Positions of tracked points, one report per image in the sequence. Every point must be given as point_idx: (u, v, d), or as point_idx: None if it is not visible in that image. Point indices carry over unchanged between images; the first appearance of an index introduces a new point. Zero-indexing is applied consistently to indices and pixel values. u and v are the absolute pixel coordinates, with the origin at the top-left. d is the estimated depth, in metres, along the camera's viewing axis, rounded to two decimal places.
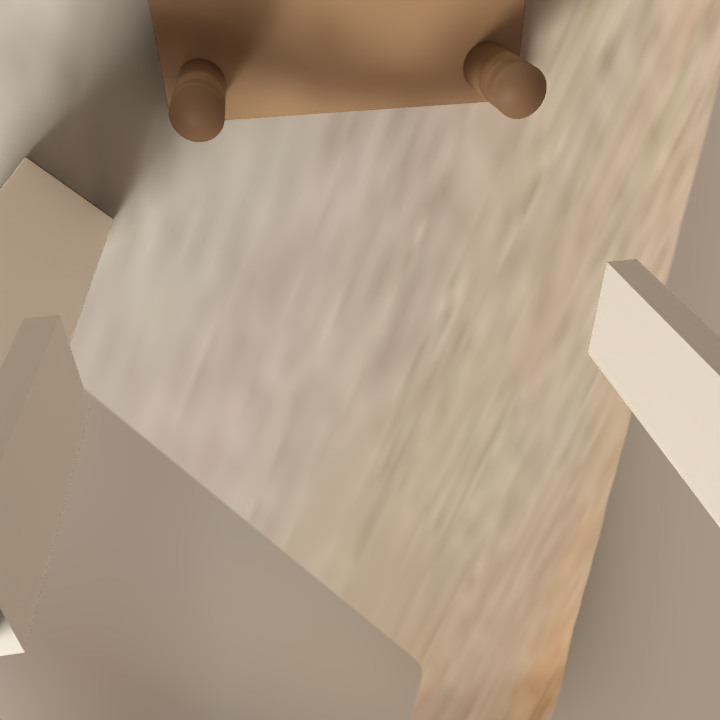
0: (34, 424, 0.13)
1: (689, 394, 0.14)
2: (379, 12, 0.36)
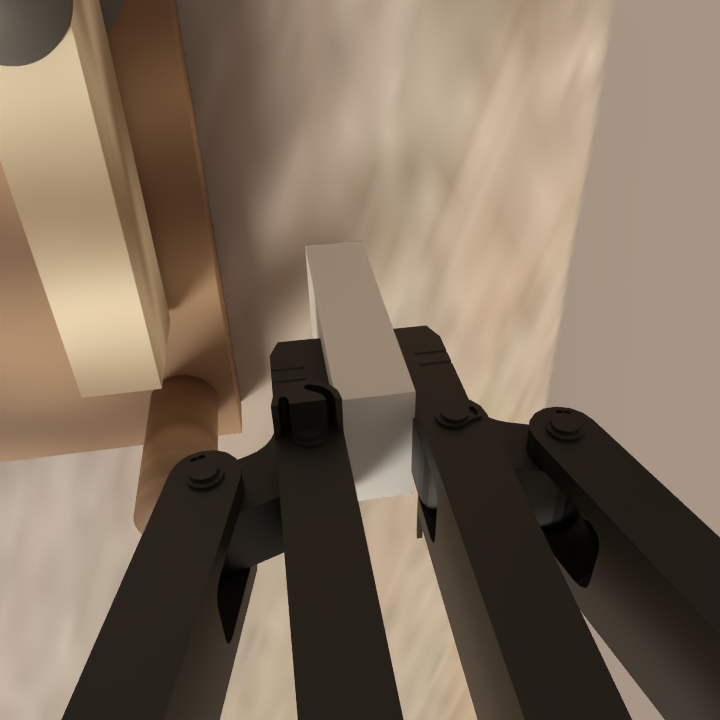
0: None
1: None
2: None
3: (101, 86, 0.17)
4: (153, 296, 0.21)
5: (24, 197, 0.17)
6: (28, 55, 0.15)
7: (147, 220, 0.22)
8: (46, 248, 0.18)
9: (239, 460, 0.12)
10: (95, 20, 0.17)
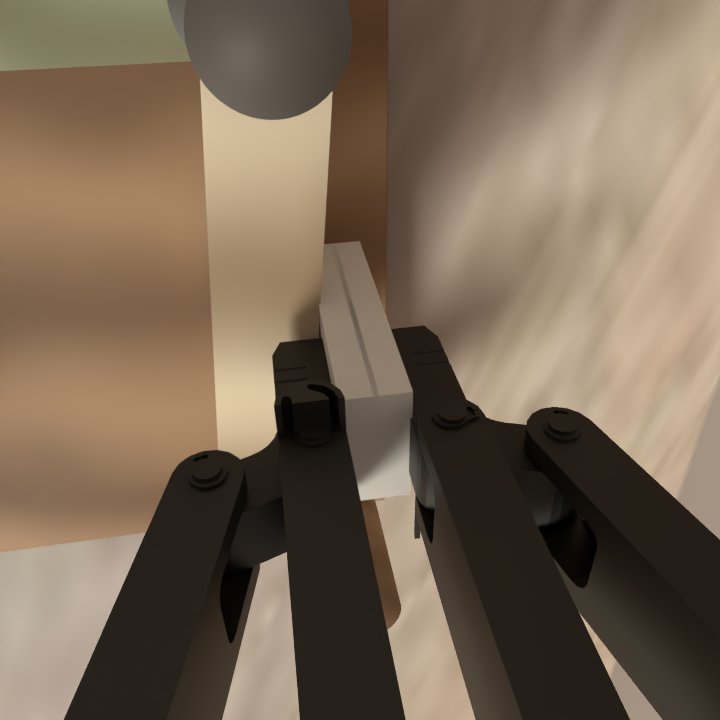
0: None
1: None
2: (136, 423, 0.22)
3: None
4: None
5: (221, 263, 0.14)
6: (285, 109, 0.12)
7: None
8: (229, 321, 0.15)
9: (242, 459, 0.12)
10: None
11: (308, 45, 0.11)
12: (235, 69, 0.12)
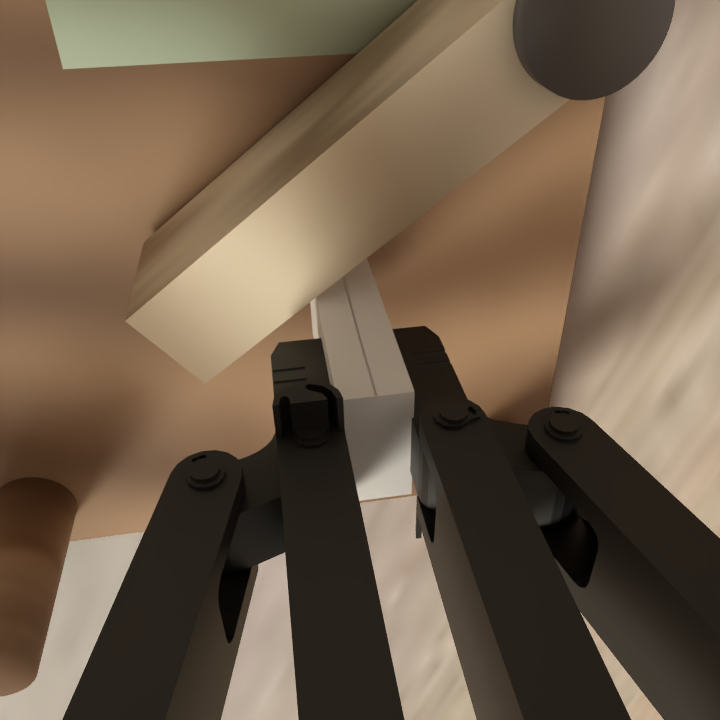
0: None
1: None
2: None
3: None
4: None
5: (363, 136, 0.13)
6: (550, 78, 0.13)
7: None
8: (312, 187, 0.14)
9: (240, 460, 0.12)
10: None
11: (608, 54, 0.12)
12: (557, 13, 0.12)
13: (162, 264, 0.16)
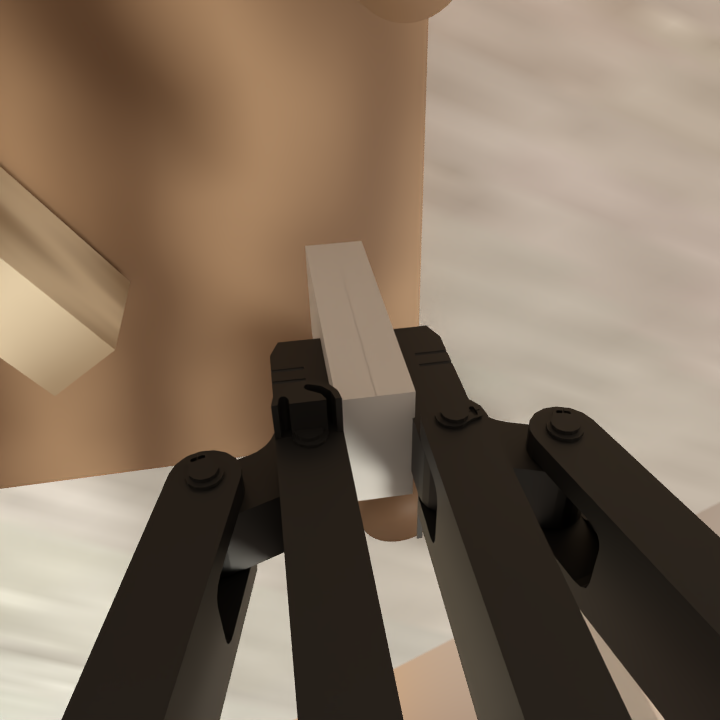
0: None
1: None
2: (266, 166, 0.21)
3: None
4: (66, 264, 0.19)
5: None
6: None
7: (29, 195, 0.20)
8: None
9: (239, 460, 0.12)
10: None
11: None
12: None
13: None
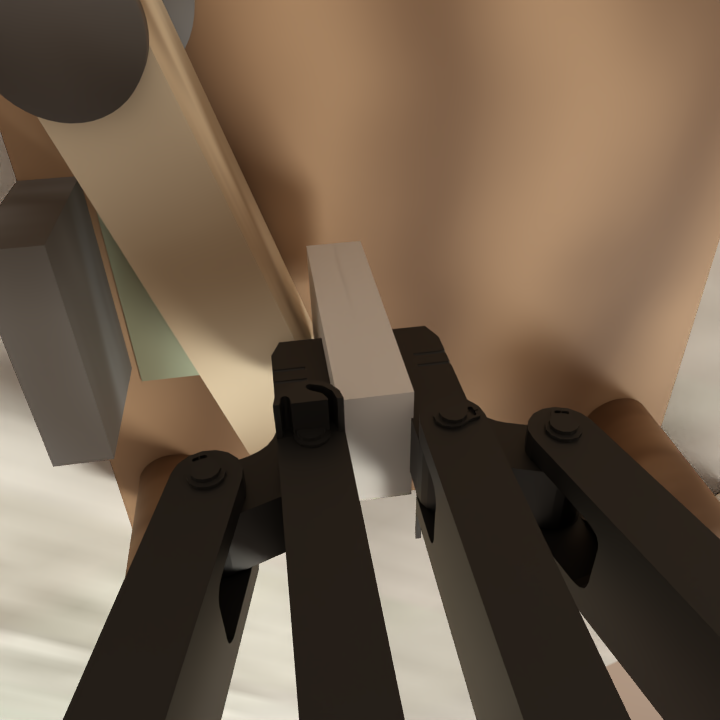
0: None
1: None
2: (579, 175, 0.19)
3: (198, 113, 0.14)
4: (308, 338, 0.18)
5: (147, 270, 0.14)
6: (111, 100, 0.12)
7: (279, 253, 0.19)
8: (185, 321, 0.15)
9: (240, 459, 0.12)
10: (171, 37, 0.14)
11: (95, 27, 0.11)
12: (44, 83, 0.11)
13: None
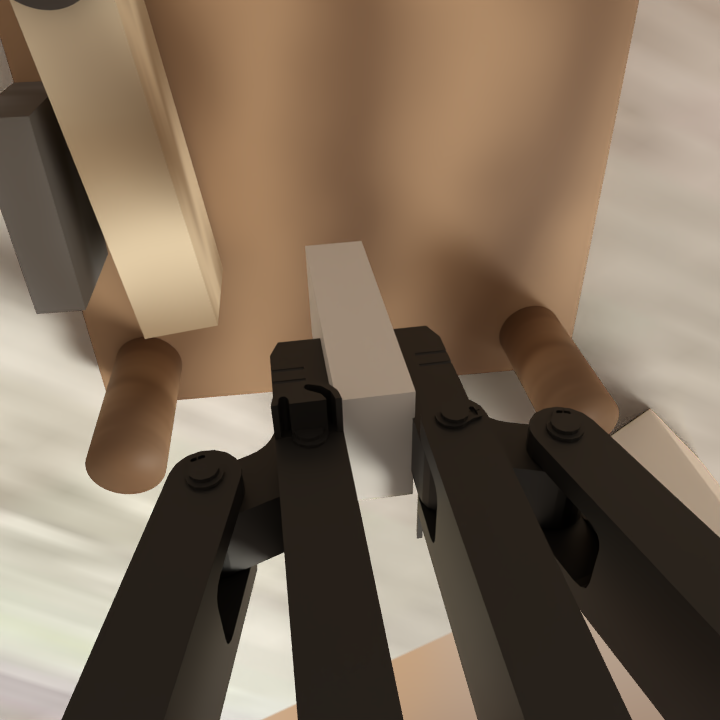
0: None
1: None
2: (479, 95, 0.23)
3: (138, 31, 0.18)
4: (203, 239, 0.22)
5: (76, 141, 0.18)
6: None
7: (193, 169, 0.23)
8: (100, 190, 0.19)
9: (239, 459, 0.12)
10: None
11: None
12: None
13: None
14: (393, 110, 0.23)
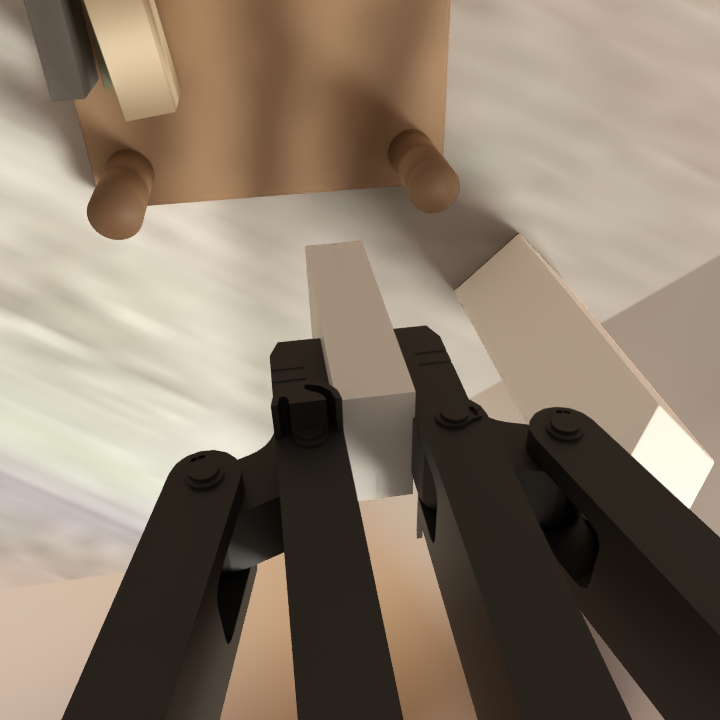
0: None
1: None
2: None
3: None
4: (165, 56, 0.33)
5: None
6: None
7: (156, 10, 0.33)
8: (94, 3, 0.29)
9: (239, 459, 0.12)
10: None
11: None
12: None
13: None
14: None
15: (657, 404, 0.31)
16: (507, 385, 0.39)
